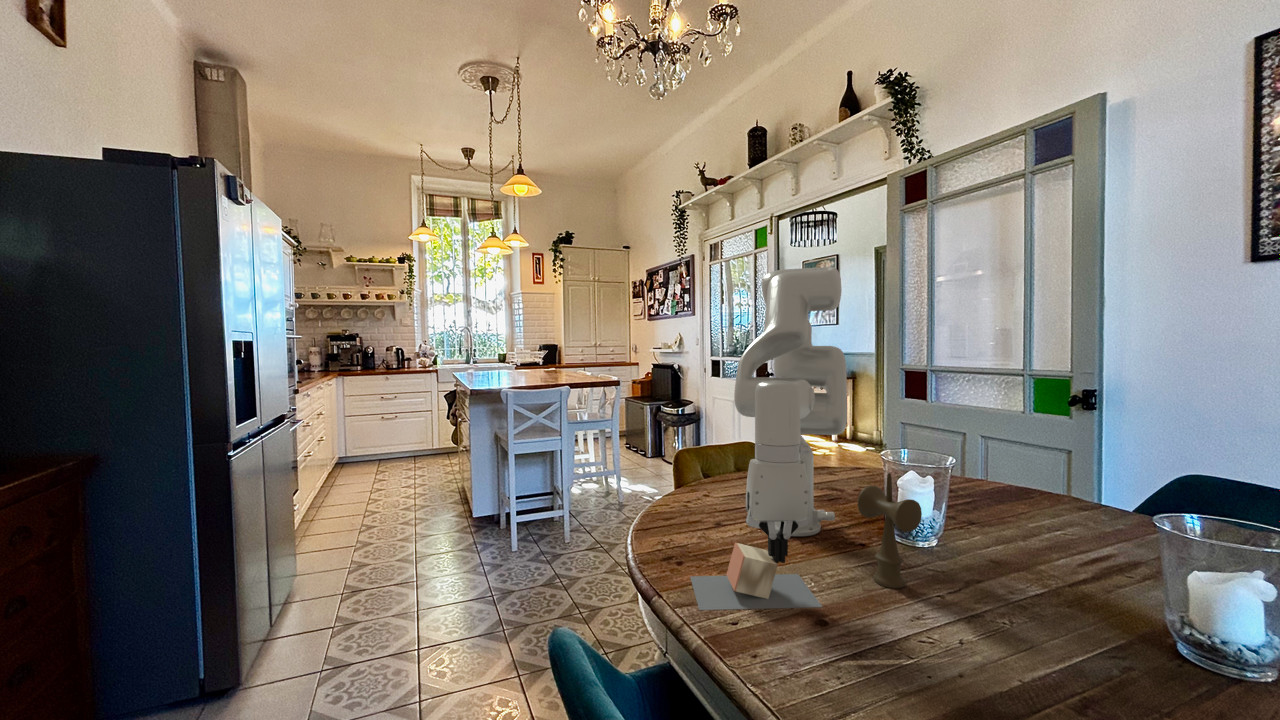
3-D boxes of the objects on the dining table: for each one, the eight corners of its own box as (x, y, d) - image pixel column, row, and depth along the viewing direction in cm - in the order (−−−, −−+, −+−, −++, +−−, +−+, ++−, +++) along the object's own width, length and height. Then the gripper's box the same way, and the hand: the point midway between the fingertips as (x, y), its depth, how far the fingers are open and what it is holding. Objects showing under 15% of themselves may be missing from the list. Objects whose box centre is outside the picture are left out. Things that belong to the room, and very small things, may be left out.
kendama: (880, 570, 98) (881, 465, 97) (924, 593, 89) (925, 477, 88) (855, 575, 96) (855, 468, 95) (898, 599, 86) (898, 481, 86)
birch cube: (767, 550, 92) (735, 542, 92) (777, 564, 86) (743, 556, 86) (758, 582, 92) (726, 574, 92) (768, 599, 86) (734, 590, 86)
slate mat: (797, 576, 96) (797, 573, 96) (822, 609, 84) (822, 606, 84) (690, 578, 95) (690, 576, 95) (699, 612, 83) (699, 609, 83)
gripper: (812, 448, 92) (813, 550, 93) (729, 449, 92) (730, 552, 92) (829, 457, 85) (829, 568, 85) (738, 458, 84) (739, 569, 85)
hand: (777, 559), depth 89 cm, fingers closed
